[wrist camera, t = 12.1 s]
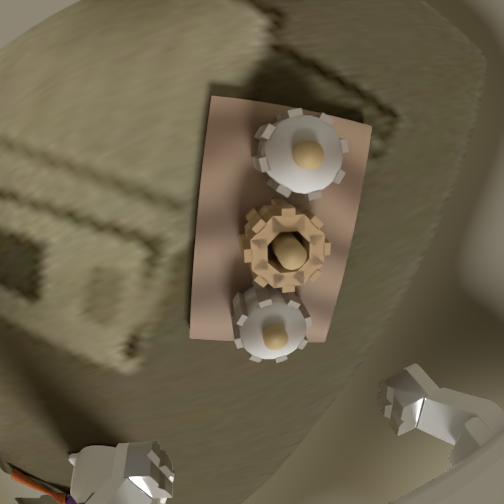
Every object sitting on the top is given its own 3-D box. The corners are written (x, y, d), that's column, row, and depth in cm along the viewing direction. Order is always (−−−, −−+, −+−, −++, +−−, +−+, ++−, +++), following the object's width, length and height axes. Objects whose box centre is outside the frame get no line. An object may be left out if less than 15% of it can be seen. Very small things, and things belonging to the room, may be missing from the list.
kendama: (7, 474, 34) (88, 514, 38) (16, 459, 40) (93, 496, 44) (11, 486, 35) (87, 524, 38) (19, 472, 41) (92, 507, 44)
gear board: (320, 334, 33) (341, 371, 26) (190, 329, 30) (187, 371, 24) (364, 126, 25) (403, 125, 19) (211, 98, 23) (211, 83, 17)
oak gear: (278, 285, 28) (288, 307, 24) (223, 240, 26) (225, 257, 22) (328, 232, 27) (346, 247, 23) (276, 182, 25) (288, 189, 21)
